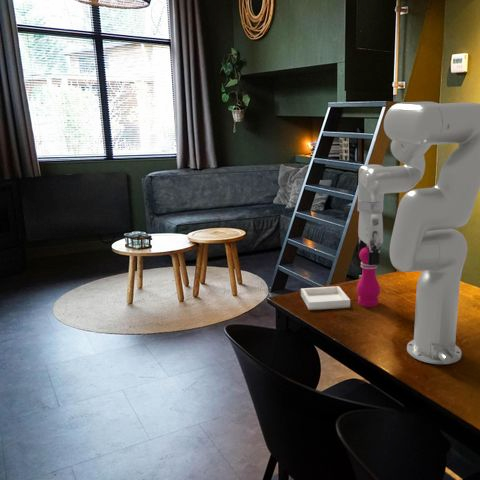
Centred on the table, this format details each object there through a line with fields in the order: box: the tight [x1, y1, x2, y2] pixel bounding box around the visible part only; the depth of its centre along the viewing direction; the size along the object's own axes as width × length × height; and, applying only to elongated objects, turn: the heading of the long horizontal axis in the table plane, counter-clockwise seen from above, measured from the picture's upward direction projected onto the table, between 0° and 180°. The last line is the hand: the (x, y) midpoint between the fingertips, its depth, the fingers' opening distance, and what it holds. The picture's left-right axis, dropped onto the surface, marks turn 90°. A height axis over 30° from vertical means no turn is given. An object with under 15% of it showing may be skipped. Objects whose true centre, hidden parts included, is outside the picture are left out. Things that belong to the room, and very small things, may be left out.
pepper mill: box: [356, 245, 381, 308], centre depth 153 cm, size 7×7×20 cm
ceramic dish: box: [300, 285, 351, 311], centre depth 158 cm, size 13×13×2 cm
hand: (368, 259), depth 152 cm, fingers open, 9 cm apart
